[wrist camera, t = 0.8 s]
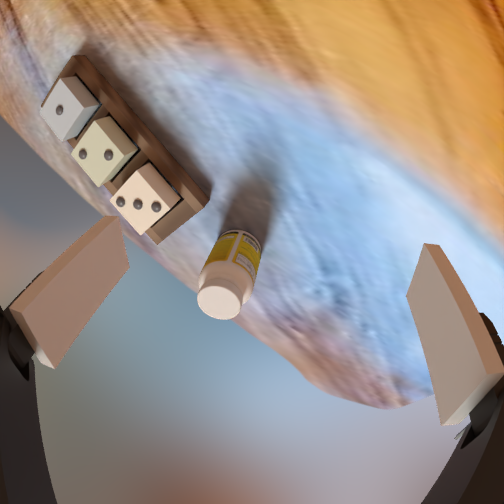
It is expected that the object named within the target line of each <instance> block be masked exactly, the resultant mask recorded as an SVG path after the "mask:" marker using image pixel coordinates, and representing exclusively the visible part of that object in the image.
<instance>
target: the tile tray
mask: <svg viewBox="0 0 504 504" xmlns="http://www.w3.org/2000/svg"><path fill="white" fill-rule="evenodd" d="M74 76H77V77H78V79H79V80H80V81H81V79H82V80H83V82H84V83H85V84H86V85H87V86H88V88H89V89H90V90H91V91H92V92H93V94H94V95H95V96H96V97H97V98H98V99H99V101H100V102H101V103H102V106H101V107H100V108H99V110H98V111H97V112H96V114H95V115H94V116H93V118H92V119H91V120H90V122H89V123H88V124H87V126H86V127H85V129H84V130H82V129H81V131H80V132H79V134H78V135H77V136H76V137H73V138H71V139H68V140H67V141H68V142H69V143H70V145H71V146H72V147H73V148H74V149H75V147H76V146H77V144H78V143H79V141H80V140H81V138H82V137H83V135H84V134H85V133H86V131H87V130H88V128H89V127H90V126H91V124H92V123H93V122H94V120H98V119H101V118H105V117H108V116H110V117H111V118H113V117H114V118H115V119H116V121H117V122H118V123H119V124H120V125H121V127H122V128H123V129H124V130H125V131H126V132H127V134H128V135H129V136H130V137H131V138H132V139H133V141H134V142H135V143H136V144H137V145H138V146H139V148H140V149H141V151H140V152H139V153H138V154H137V155H136V156H135V157H134V158H133V159H132V161H131V162H130V163H129V164H128V165H127V166H126V167H125V168H124V169H123V171H122V172H121V173H120V174H119V173H118V172H117V173H116V175H115V176H114V177H113V178H112V179H111V180H109V181H107V182H106V183H104V184H103V185H104V186H105V187H106V188H107V189H108V190H109V192H110V193H111V194H112V195H113V196H114V195H115V194H116V192H117V191H118V190H119V189H120V188H121V187H122V186H123V185H124V183H125V182H126V181H127V180H128V179H129V178H130V177H131V176H132V175H133V174H134V173H135V171H136V170H138V169H139V168H141V167H143V166H144V165H146V164H148V163H149V162H150V161H152V163H153V164H154V165H155V166H156V167H157V168H158V169H159V171H160V172H161V173H162V174H163V175H164V176H165V178H166V179H167V180H168V181H169V182H170V183H171V184H172V186H173V187H174V188H175V189H176V190H177V191H178V192H179V194H180V195H181V196H182V197H183V198H184V199H183V200H182V201H180V202H179V203H178V204H177V205H176V206H175V207H173V208H172V209H171V210H170V211H169V212H168V213H166V214H165V215H164V216H163V217H162V218H161V219H160V220H159V219H158V220H157V221H156V222H155V223H154V224H153V225H152V226H150V227H149V228H148V229H147V230H146V231H145V232H146V233H147V235H148V236H149V237H150V238H151V239H152V240H153V241H154V242H155V243H156V244H157V245H158V244H159V243H160V242H161V241H163V240H164V239H165V238H166V237H168V236H169V235H170V234H171V233H172V232H174V231H175V230H176V229H177V228H179V227H180V226H181V225H182V224H184V223H185V222H186V221H187V220H189V219H190V218H191V217H193V216H194V215H195V214H196V213H198V212H199V211H200V210H201V209H203V208H204V207H205V205H206V204H207V203H208V202H209V200H210V199H209V198H208V197H207V196H206V195H205V194H204V193H203V191H202V190H201V189H200V188H199V187H198V186H197V184H196V183H195V182H194V181H193V180H192V179H191V177H190V176H189V175H188V174H187V173H186V172H185V171H184V169H183V168H182V167H181V166H180V165H179V164H178V162H177V161H176V160H175V159H174V158H173V157H172V156H171V154H170V153H169V152H168V151H167V150H166V149H165V147H164V146H163V145H162V144H161V143H160V142H159V141H158V139H157V138H156V137H155V136H154V135H153V134H152V132H151V131H150V130H149V129H148V128H147V127H146V126H145V124H144V123H143V122H142V121H141V120H140V119H139V117H138V116H137V115H136V114H135V113H134V112H133V111H132V109H131V108H130V107H129V106H128V105H127V104H126V103H125V101H124V100H123V99H122V98H121V97H120V96H119V94H118V93H117V92H116V91H115V90H114V89H113V88H112V86H111V85H110V84H109V83H108V82H107V81H106V80H105V78H104V77H103V76H102V75H101V74H100V73H99V71H98V70H97V69H96V68H95V67H94V66H93V65H92V63H91V62H90V61H89V60H88V59H87V58H86V57H85V55H75V56H72V57H71V59H70V60H69V61H68V63H67V64H66V66H65V67H64V69H63V70H62V72H61V73H60V75H59V76H58V78H57V80H56V81H55V83H54V84H53V86H52V88H51V89H50V91H49V93H48V94H47V96H46V98H45V99H44V101H43V103H42V105H41V107H43V105H44V104H45V102H46V100H47V99H48V97H49V95H50V94H51V92H52V90H53V89H54V87H55V85H56V84H57V82H58V81H59V79H60V78H66V77H74Z"/></svg>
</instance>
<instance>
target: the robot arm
mask: <svg viewBox="0 0 504 504" xmlns="http://www.w3.org/2000/svg"><path fill="white" fill-rule="evenodd" d="M128 269H129V262H128V258H127V254H126V249H125V245H124V240H123V236H122V231H121V226H120V221H119V216H105V217H103V218H102V219H101V220H100V221H99V222H97V223H96V224H95V225H94V226H93V227H91V228H90V229H89V230H88V231H87V232H86V233H85V234H84V235H82V236H81V237H80V238H79V239H78V240H77V241H76V242H74V243H73V244H72V245H71V246H70V247H69V248H68V249H67V250H66V251H65V252H63V254H61V255H60V256H59V257H58V258H57V259H56V260H55V261H54V262H53V263H52V264H51V265H50V266H49V267H48V268H47V269H46V270H44V271H43V272H41V273H40V274H38V275H37V276H36V278H34V280H32V283H30V284H29V285H28V286H27V287H26V289H24V290H23V291H22V292H21V293H20V294H19V295H18V296H17V297H16V298H15V299H14V300H13V301H12V302H11V304H10V305H9V306H8V307H7V308H6V309H5V310H4V311H3V310H2V308H1V306H0V504H57V501H56V498H55V494H54V491H53V488H52V484H51V479H50V475H49V471H48V467H47V462H46V458H45V453H44V447H43V442H42V436H41V430H40V423H39V415H38V408H37V397H36V385H35V367H34V362H33V360H32V358H31V357H32V356H33V354H34V353H35V354H36V355H37V357H38V359H39V360H40V362H41V363H42V364H44V365H47V366H49V367H51V368H54V369H55V368H56V367H57V365H58V364H59V362H60V361H61V359H62V358H63V356H64V355H65V354H66V352H67V350H68V349H69V348H70V346H71V345H72V343H73V342H74V340H75V339H76V338H77V336H78V335H79V333H80V332H81V331H82V329H83V328H84V326H85V325H86V324H87V322H88V321H89V320H90V318H91V317H92V315H93V314H94V313H95V311H96V310H97V309H98V307H99V306H100V305H101V303H102V302H103V301H104V299H105V298H106V297H107V295H108V294H109V293H110V292H111V290H112V289H113V288H114V286H115V285H116V284H117V283H118V281H119V280H120V279H121V278H122V276H123V275H124V274H125V272H126V271H127V270H128ZM406 297H407V300H408V303H409V306H410V309H411V312H412V315H413V318H414V321H415V324H416V327H417V331H418V334H419V337H420V341H421V344H422V347H423V351H424V354H425V358H426V362H427V366H428V369H429V373H430V377H431V381H432V385H433V390H434V394H435V398H436V402H437V407H438V412H439V417H440V423H441V426H446V425H452V424H459V423H461V422H462V421H463V419H465V418H466V417H467V416H468V415H470V420H471V422H470V424H468V425H467V426H466V427H465V428H464V429H463V430H462V431H461V432H460V433H459V434H458V435H457V436H456V437H455V438H454V439H456V440H457V439H458V438H459V437H460V436H462V437H461V439H460V441H459V443H458V444H457V446H456V449H455V450H454V452H453V454H452V456H451V457H450V459H449V461H448V463H447V464H446V466H445V468H444V470H443V471H442V473H441V474H440V476H439V478H438V479H437V481H436V482H435V484H434V485H433V487H432V488H431V490H430V491H429V493H428V495H427V496H426V497H425V499H424V500H423V502H422V503H421V504H504V345H503V344H502V341H501V339H500V337H499V335H497V334H498V333H497V331H496V329H495V327H494V325H493V323H492V322H491V321H490V319H489V318H488V317H487V316H486V315H485V314H484V313H479V312H478V310H477V308H476V307H475V305H474V303H473V301H472V299H471V297H470V295H469V294H468V292H467V290H466V288H465V287H464V285H463V283H462V281H461V280H460V278H459V276H458V275H457V273H456V271H455V270H454V268H453V266H452V265H451V263H450V261H449V260H448V258H447V257H446V255H445V253H444V252H443V250H442V249H441V247H440V246H439V245H434V244H426V243H424V245H423V248H422V251H421V254H420V257H419V261H418V264H417V267H416V269H415V272H414V275H413V278H412V281H411V284H410V287H409V289H408V292H407V295H406Z"/></svg>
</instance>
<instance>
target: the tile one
mask: <svg viewBox="0 0 504 504" xmlns="http://www.w3.org/2000/svg"><path fill="white" fill-rule="evenodd" d="M99 105H100V104H99V103H98V101H97V100H96V99H95V98H94V97H93V95H92V94H91V93H90V92H89V91H88V89H87V88H86V87H85V86H84V85H83V83H82V82H81V81H80V80H79V79H78V77H77V76H74V77H66V78H60V79H59V81H58V82H57V84H56V85H55V87H54V89H53V90H52V92H51V94H50V95H49V97H48V99H47V100H46V102H45V104H44V105H43V107H42V109H41V111H40V115H41V116H42V117H43V119H44V120H45V121H46V123H47V124H48V125H49V127H50V128H51V129H52V130H53V132H54V133H55V134H56V136H57V137H58V138H59V140H60V141H61V142H63V141H65V140H68V139H71V138H73V137H76V136H77V135H78V134H79V132H80V131H81V129H82V128H83V127H84V125H85V124H86V122H87V121H88V120H89V118H90V117H91V116H92V114H93V113H94V112H95V110H96V109H97V108H98V106H99Z"/></svg>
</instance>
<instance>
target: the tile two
mask: <svg viewBox="0 0 504 504" xmlns="http://www.w3.org/2000/svg"><path fill="white" fill-rule="evenodd" d="M137 150H138V148H137V147H136V146H135V145H134V144H133V143H132V141H131V140H130V139H129V138H128V137H127V136H126V134H125V133H124V132H123V131H122V130H121V129H120V127H119V126H118V125H117V124H116V123H115V121H114V120H113V119H112V118H111V117H110V116H108V117H105V118H101V119H98V120H94V122H93V123H92V124H91V126H90V127H89V128H88V130H87V131H86V133H85V134H84V135H83V137H82V138H81V140H80V141H79V143H78V144H77V146H76V147H75V149H74V150H73V152H72V153H71V155H72V156H73V157H74V159H75V160H76V161H77V162H78V163H79V165H80V166H81V167H82V168H83V170H84V171H85V172H86V173H87V174H88V176H89V177H90V178H91V179H92V180H93V182H94V183H95V184H96V185H97V186H98V187H100V186H101V185H103V184H104V183H106V182H107V181H109V180H111V179H112V178H113V177H114V176H115V175H116V173H117V172H118V171H119V170H120V169H121V168H122V166H123V165H124V164H125V163H126V162H127V161H128V160H129V159H130V157H131V156H132V155H133V154H134V153H135V152H136V151H137Z"/></svg>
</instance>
